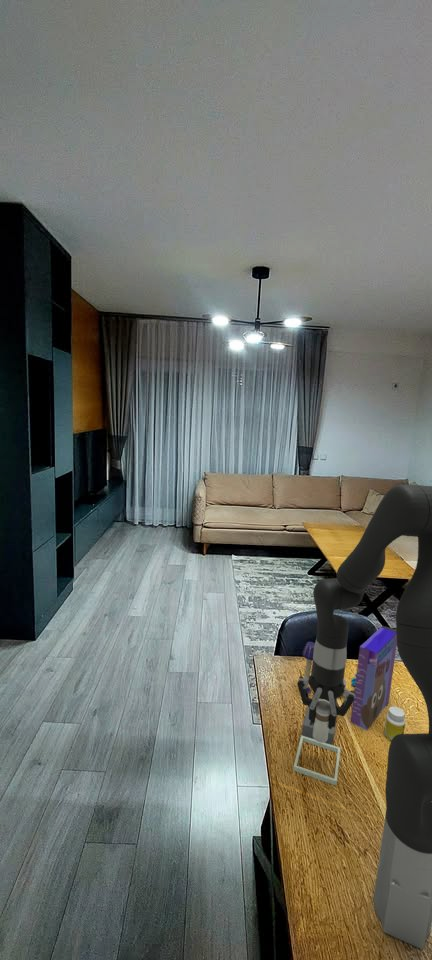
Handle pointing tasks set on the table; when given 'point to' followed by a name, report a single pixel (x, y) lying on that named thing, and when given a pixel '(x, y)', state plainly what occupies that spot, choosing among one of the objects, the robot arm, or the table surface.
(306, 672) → the toy lamp
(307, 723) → the fuse block
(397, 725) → the supplement bottle
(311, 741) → the pale green flat frame
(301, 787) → the table surface
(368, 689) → the cereal box
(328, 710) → the cylinder
